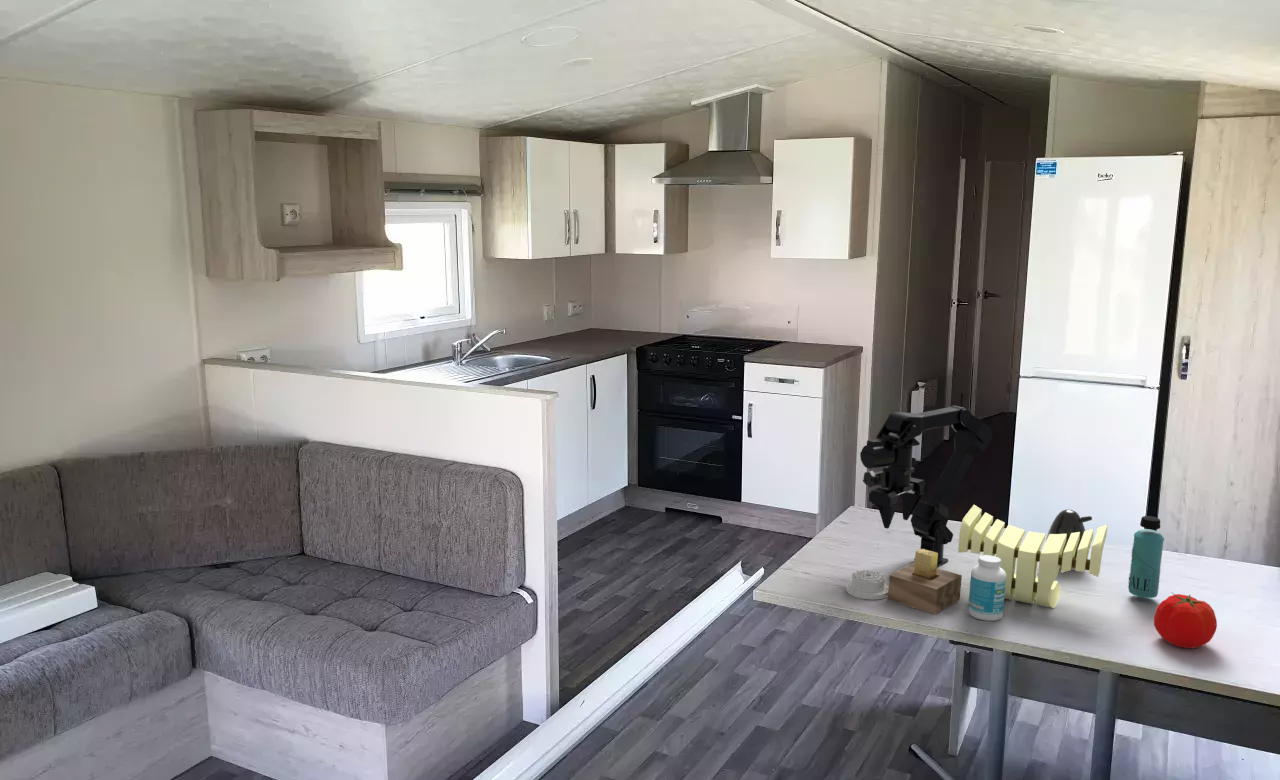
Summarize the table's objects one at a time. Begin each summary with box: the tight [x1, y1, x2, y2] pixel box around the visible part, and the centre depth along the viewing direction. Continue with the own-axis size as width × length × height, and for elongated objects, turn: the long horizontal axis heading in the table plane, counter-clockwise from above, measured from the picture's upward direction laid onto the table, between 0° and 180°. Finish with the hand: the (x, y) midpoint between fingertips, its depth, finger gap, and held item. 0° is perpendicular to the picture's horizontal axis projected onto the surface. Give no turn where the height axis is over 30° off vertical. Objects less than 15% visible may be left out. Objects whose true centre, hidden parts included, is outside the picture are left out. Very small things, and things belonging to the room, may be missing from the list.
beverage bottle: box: [1128, 515, 1165, 599], centre depth 225 cm, size 6×7×20 cm
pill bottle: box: [967, 554, 1006, 622], centre depth 216 cm, size 8×7×14 cm
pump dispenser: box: [1044, 509, 1093, 571], centre depth 246 cm, size 10×10×15 cm
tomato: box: [1153, 592, 1218, 649], centre depth 203 cm, size 12×12×10 cm
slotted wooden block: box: [887, 561, 963, 615], centre depth 225 cm, size 12×12×6 cm
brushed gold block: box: [914, 548, 938, 580], centre depth 225 cm, size 3×4×10 cm
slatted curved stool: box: [957, 504, 1108, 609], centre depth 227 cm, size 30×16×18 cm, turn 60°
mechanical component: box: [845, 569, 889, 601], centre depth 230 cm, size 10×4×10 cm
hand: (895, 523), depth 243 cm, fingers open, 9 cm apart
